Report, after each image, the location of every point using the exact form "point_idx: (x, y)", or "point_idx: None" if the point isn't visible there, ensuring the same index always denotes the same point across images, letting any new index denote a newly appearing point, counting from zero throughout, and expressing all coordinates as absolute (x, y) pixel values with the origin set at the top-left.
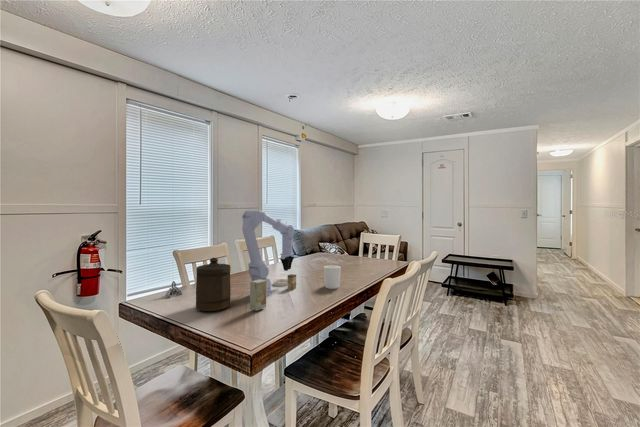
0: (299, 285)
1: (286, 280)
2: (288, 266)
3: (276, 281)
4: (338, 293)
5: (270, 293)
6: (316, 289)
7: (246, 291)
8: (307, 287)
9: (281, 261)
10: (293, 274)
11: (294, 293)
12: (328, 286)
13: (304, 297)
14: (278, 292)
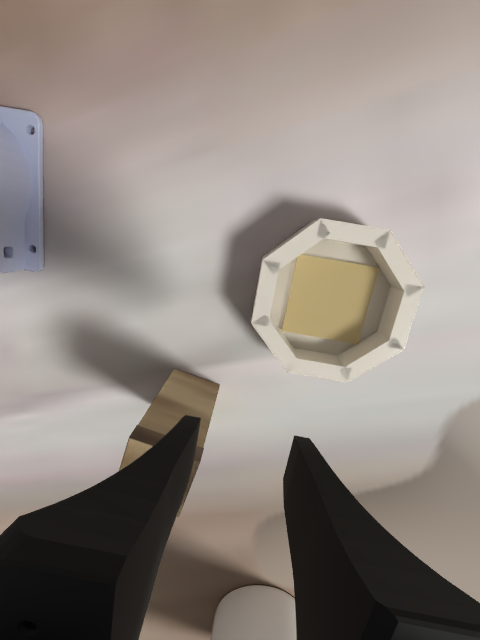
0: (313, 435)
1: (384, 337)
2: (172, 521)
3: (354, 243)
4: (141, 636)
5: (19, 269)
6: (210, 541)
7: (61, 7)
8: (256, 490)
9: (68, 501)
10: (187, 490)
11: (91, 426)
12: (216, 620)
13: (22, 488)
14: (92, 316)
